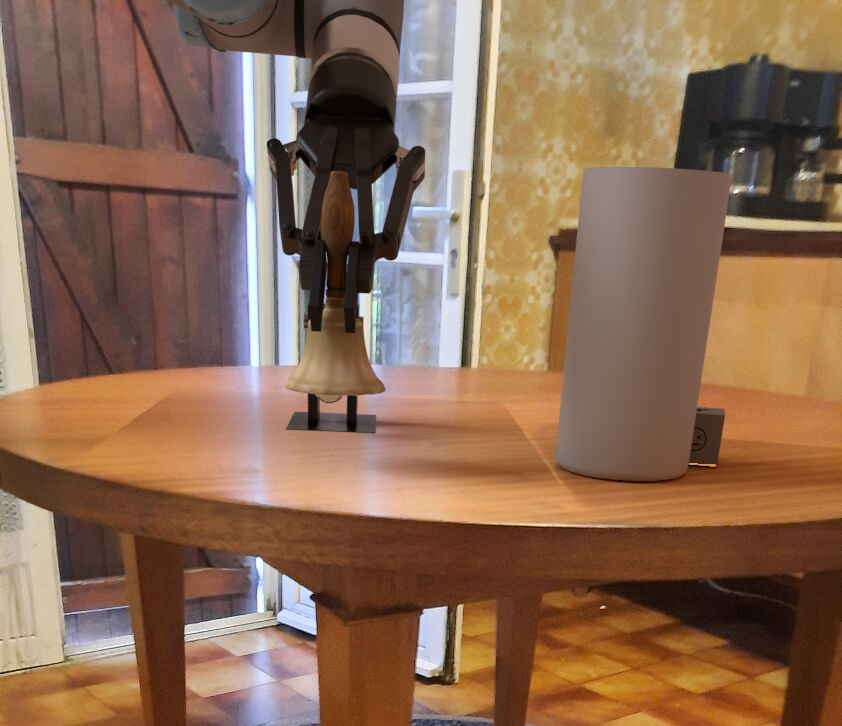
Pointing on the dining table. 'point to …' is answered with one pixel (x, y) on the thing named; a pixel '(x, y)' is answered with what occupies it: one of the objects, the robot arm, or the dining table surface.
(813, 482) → the dining table surface
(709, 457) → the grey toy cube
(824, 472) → the dining table surface
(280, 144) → the robot arm
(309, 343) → the hand bell
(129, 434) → the dining table surface
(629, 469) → the cylinder vase
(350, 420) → the bracket
